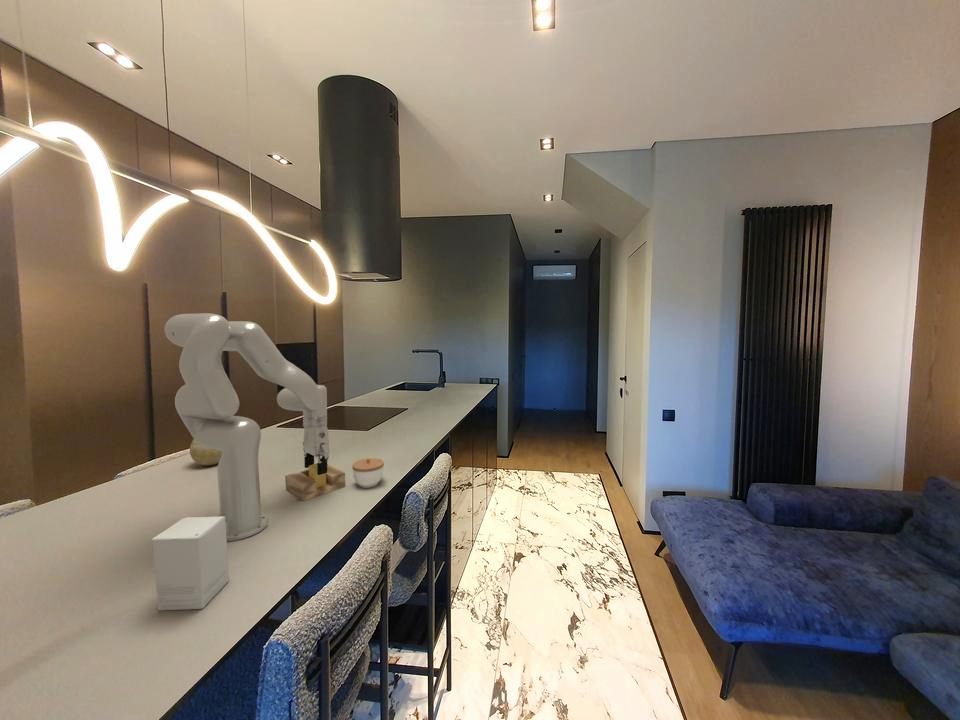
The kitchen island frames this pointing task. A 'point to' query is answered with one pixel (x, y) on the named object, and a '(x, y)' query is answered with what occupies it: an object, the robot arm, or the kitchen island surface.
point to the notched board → (313, 483)
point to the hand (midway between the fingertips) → (315, 470)
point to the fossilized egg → (204, 454)
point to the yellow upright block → (317, 476)
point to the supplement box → (190, 562)
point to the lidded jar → (368, 472)
